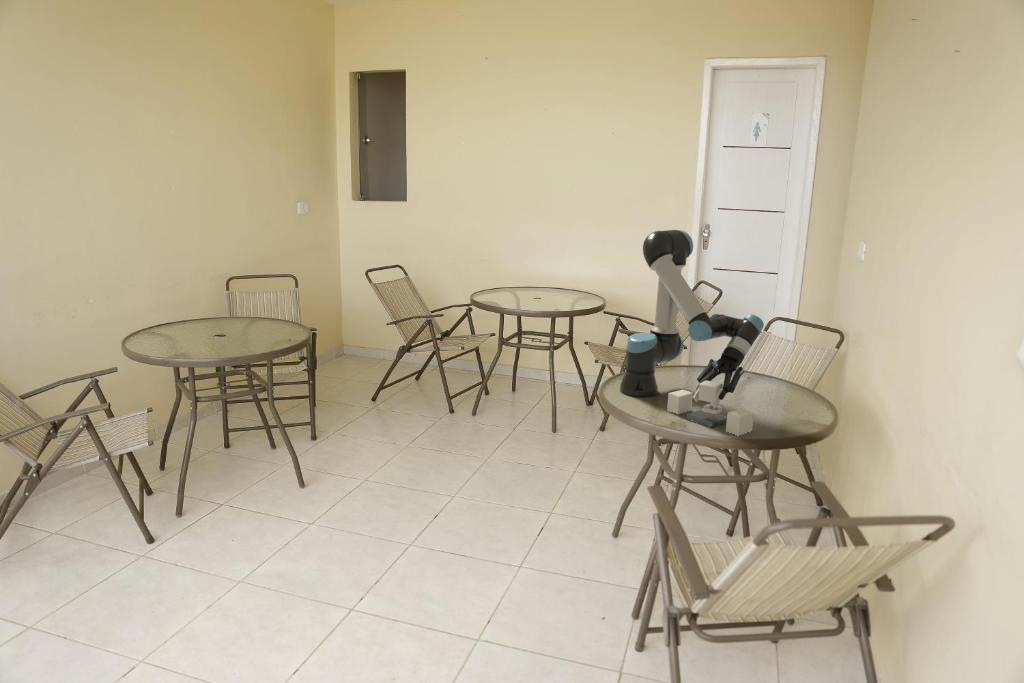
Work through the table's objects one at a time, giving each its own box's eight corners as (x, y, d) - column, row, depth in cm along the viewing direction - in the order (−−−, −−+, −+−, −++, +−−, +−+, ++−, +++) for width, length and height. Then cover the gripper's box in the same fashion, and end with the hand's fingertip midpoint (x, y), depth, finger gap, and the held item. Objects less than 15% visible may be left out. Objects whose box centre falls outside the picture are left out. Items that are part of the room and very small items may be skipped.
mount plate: (686, 419, 249) (687, 413, 249) (704, 413, 255) (704, 408, 255) (711, 428, 241) (712, 422, 241) (729, 422, 247) (729, 417, 246)
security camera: (704, 406, 251) (706, 379, 249) (722, 410, 247) (725, 383, 245) (696, 410, 247) (699, 383, 244) (715, 414, 242) (717, 387, 240)
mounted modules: (667, 410, 258) (668, 393, 256) (680, 407, 262) (682, 389, 261) (738, 436, 234) (740, 416, 232) (751, 431, 239) (754, 412, 237)
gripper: (763, 364, 244) (731, 416, 239) (716, 352, 260) (685, 400, 254) (756, 351, 240) (723, 404, 234) (708, 340, 256) (677, 389, 250)
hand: (703, 402), depth 244 cm, fingers closed on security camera, 7 cm apart
